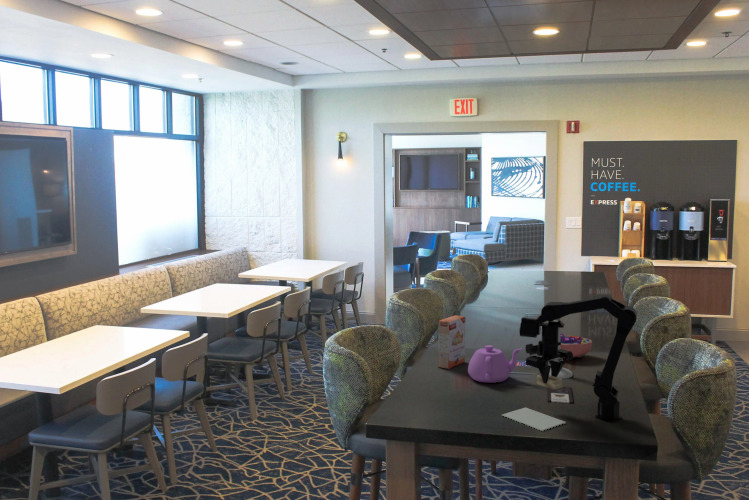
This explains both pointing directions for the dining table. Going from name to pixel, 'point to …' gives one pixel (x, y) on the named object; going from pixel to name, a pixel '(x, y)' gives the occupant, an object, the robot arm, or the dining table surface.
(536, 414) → the sage mat
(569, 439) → the dining table surface
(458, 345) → the cracker box
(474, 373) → the teapot
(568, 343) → the cell model
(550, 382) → the grooved tan block
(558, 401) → the chocolate bar
